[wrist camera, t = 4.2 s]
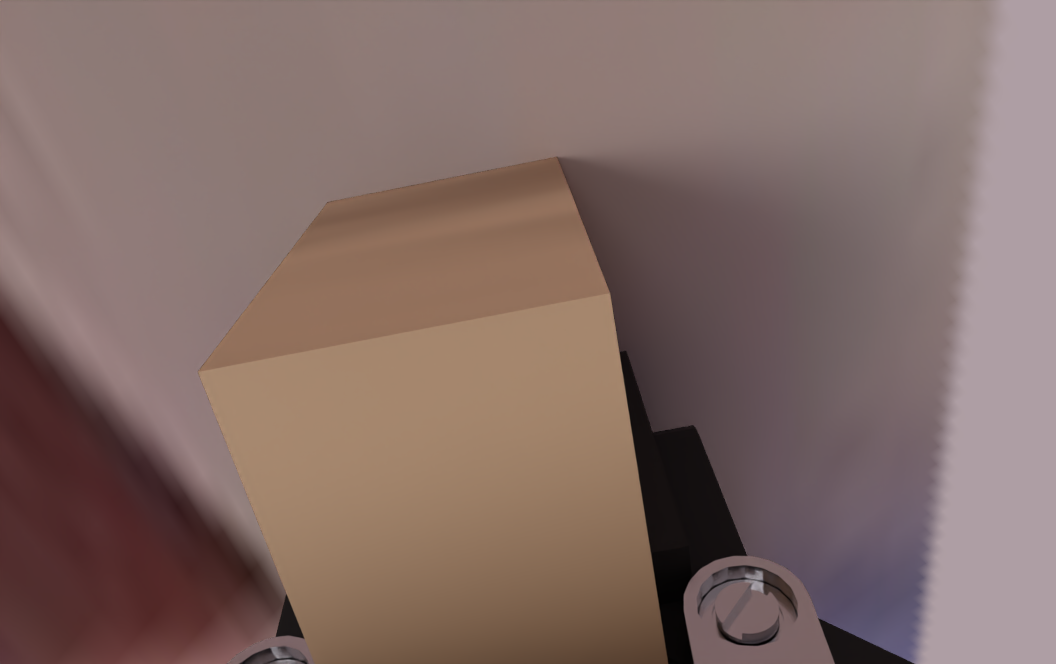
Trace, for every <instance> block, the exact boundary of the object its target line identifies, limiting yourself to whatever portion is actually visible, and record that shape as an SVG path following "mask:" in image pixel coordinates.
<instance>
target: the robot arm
mask: <svg viewBox="0 0 1056 664" xmlns="http://www.w3.org/2000/svg"><path fill="white" fill-rule="evenodd" d="M619 353H620V360H621V366H622V373H623V379H624V385H625V392H626V398H627V404H628V411H629V417H630V424H631V430H632V436H633V443H634V449H635V455H636V462H637V468H638V475H639V481H640V487H641V494H642V500H643V506H644V513H645V519H646V526H647V532H648V538H649V545H650V551H651V557H652V564H653V570H654V577H655V583H656V589H657V596H658V602H659V608H660V615H661V621H662V628H663V634H664V640H665V647H666V653H667V659H668V664H914V663H912V662H910V661H907V660H905V659H903V658H901V657H899V656H897V655H895V654H893V653H891V652H888V651H886V650H884V649H882V648H880V647H878V646H876V645H874V644H872V643H869V642H867V641H865V640H863V639H861V638H859V637H857V636H855V635H852V634H850V633H848V632H846V631H844V630H842V629H840V628H838V627H836V626H833V625H831V624H829V623H827V622H825V621H823V620H821V619H819V618H818V617H817V614H816V611H815V608H814V606H813V603H812V600H811V598H810V595H809V594H808V592H807V590H806V589H805V587H804V585H803V583H802V582H801V581H800V580H799V579H798V578H797V577H796V576H795V575H794V574H793V573H792V572H790V571H789V570H788V569H787V568H785V567H783V566H781V565H779V564H777V563H775V562H773V561H771V560H767V559H763V558H759V557H754V556H747V555H746V552H745V549H744V547H743V544H742V542H741V539H740V537H739V534H738V532H737V529H736V527H735V524H734V522H733V519H732V517H731V514H730V512H729V509H728V507H727V504H726V502H725V499H724V497H723V494H722V492H721V489H720V487H719V484H718V482H717V479H716V477H715V474H714V472H713V469H712V467H711V464H710V462H709V459H708V457H707V454H706V452H705V449H704V447H703V444H702V442H701V439H700V437H699V434H698V432H697V430H696V428H695V427H694V426H693V425H692V426H687V427H681V428H676V429H671V430H665V431H660V432H654V433H652V430H651V427H650V423H649V420H648V417H647V414H646V411H645V408H644V405H643V401H642V398H641V395H640V392H639V389H638V386H637V383H636V380H635V376H634V373H633V370H632V367H631V364H630V361H629V358H628V355H627V352H626V351H623V352H619ZM227 664H315V663H314V661H313V658H312V656H311V653H310V651H309V648H308V646H307V643H306V641H305V638H304V636H303V633H302V631H301V628H300V626H299V623H298V621H297V618H296V616H295V613H294V611H293V608H292V606H291V603H290V601H289V598H288V596H287V594H286V598H285V602H284V606H283V610H282V614H281V618H280V622H279V626H278V630H277V634H276V637H272V638H269V639H266V640H263V641H260V642H258V643H255V644H253V645H251V646H250V647H248V648H246V649H245V650H243V651H242V652H240V653H238V654H237V655H236V656H235V657H234V658H232V659H231V660H230V661H229V662H228V663H227Z"/></svg>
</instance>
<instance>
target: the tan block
mask: <svg viewBox="0 0 1056 664" xmlns="http://www.w3.org/2000/svg"><path fill="white" fill-rule="evenodd" d="M198 374H199V377H200V379H201V381H202V384H203V386H204V389H205V391H206V394H207V396H208V399H209V401H210V404H211V406H212V409H213V411H214V414H215V416H216V419H217V421H218V424H219V426H220V429H221V431H222V434H223V436H224V439H225V441H226V444H227V446H228V449H229V451H230V454H231V456H232V459H233V461H234V464H235V466H236V469H237V471H238V474H239V476H240V479H241V481H242V484H243V486H244V489H245V491H246V494H247V496H248V499H249V501H250V504H251V506H252V509H253V511H254V514H255V516H256V519H257V521H258V524H259V526H260V529H261V531H262V534H263V536H264V539H265V541H266V544H267V546H268V549H269V551H270V554H271V556H272V558H273V561H274V563H275V566H276V568H277V571H278V573H279V576H280V578H281V581H282V583H283V586H284V588H285V591H286V593H287V596H288V598H289V601H290V603H291V606H292V608H293V611H294V613H295V616H296V618H297V621H298V623H299V626H300V628H301V631H302V633H303V636H304V638H305V641H306V643H307V646H308V648H309V651H310V653H311V656H312V658H313V661H314V663H315V664H668V659H667V653H666V647H665V640H664V634H663V628H662V621H661V615H660V608H659V602H658V596H657V589H656V583H655V577H654V570H653V564H652V557H651V551H650V545H649V538H648V532H647V526H646V519H645V513H644V506H643V500H642V494H641V487H640V481H639V475H638V468H637V462H636V455H635V449H634V443H633V436H632V430H631V424H630V417H629V411H628V404H627V398H626V392H625V385H624V379H623V373H622V366H621V360H620V353H619V347H618V341H617V334H616V328H615V322H614V315H613V309H612V302H611V296H610V292H609V289H608V287H607V284H606V281H605V279H604V276H603V274H602V271H601V269H600V266H599V263H598V261H597V258H596V256H595V253H594V251H593V248H592V245H591V243H590V240H589V238H588V235H587V233H586V230H585V227H584V225H583V222H582V220H581V217H580V215H579V212H578V209H577V207H576V204H575V202H574V199H573V197H572V194H571V191H570V189H569V186H568V184H567V181H566V179H565V176H564V173H563V171H562V168H561V166H560V163H559V161H558V158H557V157H553V158H548V159H543V160H538V161H533V162H528V163H523V164H518V165H513V166H508V167H503V168H498V169H493V170H488V171H482V172H477V173H472V174H467V175H462V176H457V177H452V178H447V179H442V180H437V181H432V182H427V183H422V184H417V185H412V186H407V187H402V188H397V189H391V190H386V191H381V192H376V193H371V194H366V195H361V196H356V197H351V198H346V199H341V200H336V201H331V202H327V204H326V205H325V206H324V208H323V209H322V210H321V212H320V213H319V214H318V216H317V217H316V218H315V219H314V221H313V222H312V223H311V225H310V226H309V227H308V229H307V230H306V231H305V233H304V234H303V235H302V236H301V238H300V239H299V240H298V242H297V243H296V244H295V246H294V247H293V248H292V250H291V251H290V252H289V253H288V255H287V256H286V257H285V259H284V260H283V261H282V263H281V264H280V265H279V266H278V268H277V269H276V270H275V272H274V273H273V274H272V276H271V277H270V278H269V280H268V281H267V282H266V283H265V285H264V286H263V287H262V289H261V290H260V291H259V293H258V294H257V295H256V297H255V298H254V299H253V300H252V302H251V303H250V304H249V306H248V307H247V308H246V310H245V311H244V312H243V314H242V315H241V316H240V317H239V319H238V320H237V321H236V323H235V324H234V325H233V327H232V328H231V329H230V330H229V332H228V333H227V334H226V336H225V337H224V338H223V340H222V341H221V342H220V344H219V345H218V346H217V347H216V349H215V350H214V351H213V353H212V354H211V355H210V357H209V358H208V359H207V361H206V362H205V363H204V364H203V366H202V367H201V368H200V370H199V371H198Z"/></svg>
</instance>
